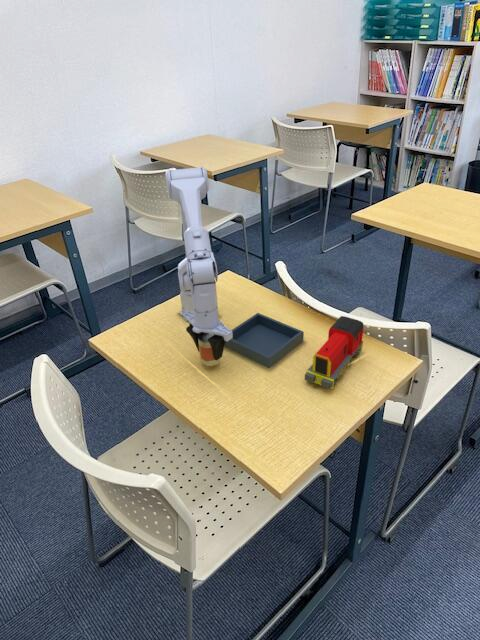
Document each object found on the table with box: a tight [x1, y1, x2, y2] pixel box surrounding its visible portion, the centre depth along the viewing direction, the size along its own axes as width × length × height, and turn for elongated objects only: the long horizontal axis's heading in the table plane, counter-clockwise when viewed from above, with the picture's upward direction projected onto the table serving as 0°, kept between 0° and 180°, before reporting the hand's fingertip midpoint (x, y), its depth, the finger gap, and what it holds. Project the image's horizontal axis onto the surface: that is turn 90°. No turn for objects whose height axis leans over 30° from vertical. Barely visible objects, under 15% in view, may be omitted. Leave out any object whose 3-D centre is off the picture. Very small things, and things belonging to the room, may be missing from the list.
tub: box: [224, 312, 305, 369], centre depth 127 cm, size 16×15×4 cm
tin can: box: [198, 332, 222, 367], centre depth 118 cm, size 5×5×7 cm
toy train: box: [304, 315, 365, 390], centre depth 116 cm, size 7×19×10 cm, turn 146°
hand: (209, 353), depth 119 cm, fingers closed on tin can, 5 cm apart
